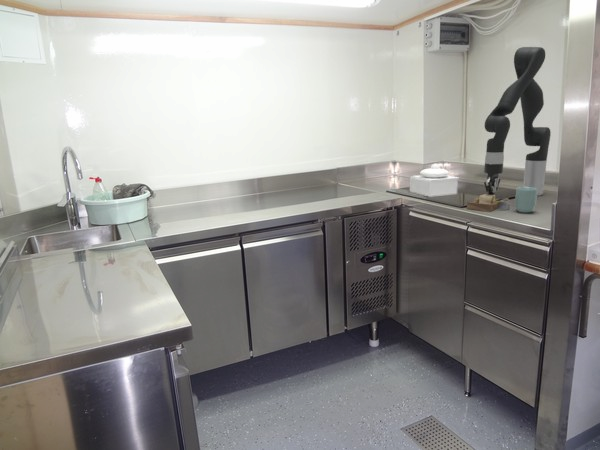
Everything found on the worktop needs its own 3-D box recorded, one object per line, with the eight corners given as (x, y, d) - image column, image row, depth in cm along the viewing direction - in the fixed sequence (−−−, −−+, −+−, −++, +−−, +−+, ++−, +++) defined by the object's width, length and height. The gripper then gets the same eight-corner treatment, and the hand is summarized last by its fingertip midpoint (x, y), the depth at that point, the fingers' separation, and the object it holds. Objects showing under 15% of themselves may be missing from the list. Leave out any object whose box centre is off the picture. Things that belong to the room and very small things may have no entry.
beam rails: (486, 201, 204) (486, 194, 203) (508, 203, 197) (509, 196, 196) (466, 209, 189) (467, 201, 188) (490, 211, 182) (490, 204, 181)
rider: (483, 205, 195) (484, 194, 194) (494, 206, 192) (495, 195, 190) (478, 206, 192) (479, 195, 190) (490, 208, 188) (491, 197, 187)
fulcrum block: (501, 208, 188) (502, 200, 188) (508, 208, 186) (509, 201, 186) (498, 209, 186) (498, 201, 185) (505, 210, 184) (506, 202, 183)
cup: (537, 214, 176) (540, 189, 173) (517, 213, 177) (519, 189, 175) (531, 210, 183) (534, 186, 181) (512, 209, 185) (514, 186, 182)
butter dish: (409, 192, 235) (410, 163, 231) (437, 189, 241) (438, 161, 237) (429, 197, 219) (430, 166, 215) (458, 194, 225) (460, 163, 221)
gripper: (491, 160, 197) (488, 197, 202) (479, 163, 188) (476, 202, 192) (508, 161, 192) (504, 199, 196) (497, 164, 183) (493, 204, 187)
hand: (490, 200), depth 194 cm, fingers closed
